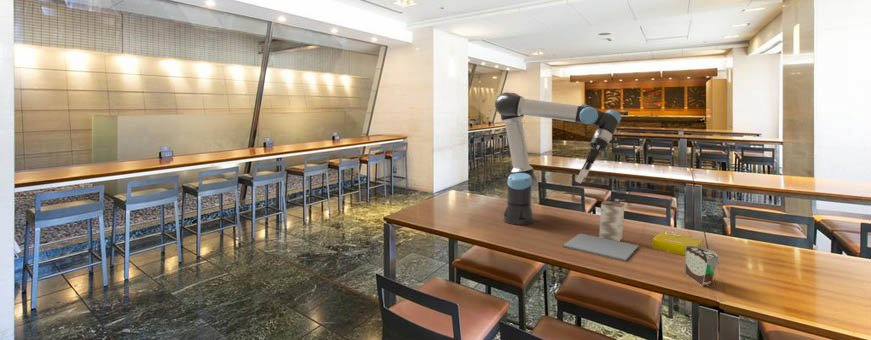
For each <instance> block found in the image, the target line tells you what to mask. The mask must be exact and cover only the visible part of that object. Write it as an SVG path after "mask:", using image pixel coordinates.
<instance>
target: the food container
mask: <svg viewBox="0 0 871 340" xmlns="http://www.w3.org/2000/svg"><path fill="white" fill-rule="evenodd" d="M685 251H686V255H685V256H684V257H685V260H684V275H685V276H686V275H687V277H688V278H689V277H690V279H691V280H693V282H695V281H696V282H697V283H696V282H695V283H696V284H698V283H699V284H701V285H702V286H707V285H710V284H711V285H712V283H713V277H714V273H715V269H716V265H717V264H719V263H720V261H719V256H718V254H717V253H716V252H715V251H713V250H711V249H708V248H705V247H702V248H701V247H696V246H686V247H685ZM699 284H698V285H699ZM701 285H700V286H701ZM711 285H710V286H711ZM702 286H701V287H702ZM707 287H708V286H707Z"/></svg>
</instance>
